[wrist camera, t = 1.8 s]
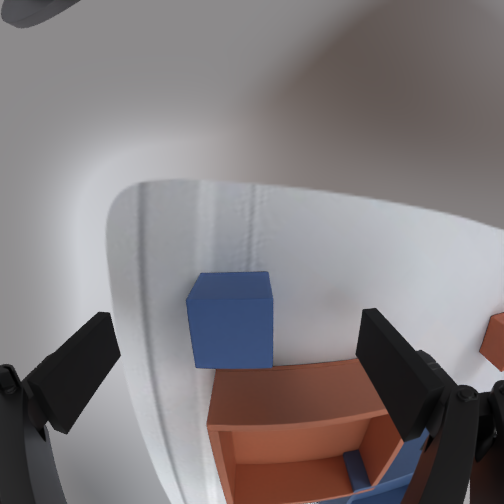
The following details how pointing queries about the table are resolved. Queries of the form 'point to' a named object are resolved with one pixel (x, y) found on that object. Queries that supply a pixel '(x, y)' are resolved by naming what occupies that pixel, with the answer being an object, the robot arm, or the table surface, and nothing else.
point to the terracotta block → (494, 341)
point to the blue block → (231, 320)
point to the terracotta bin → (297, 431)
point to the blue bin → (392, 483)
